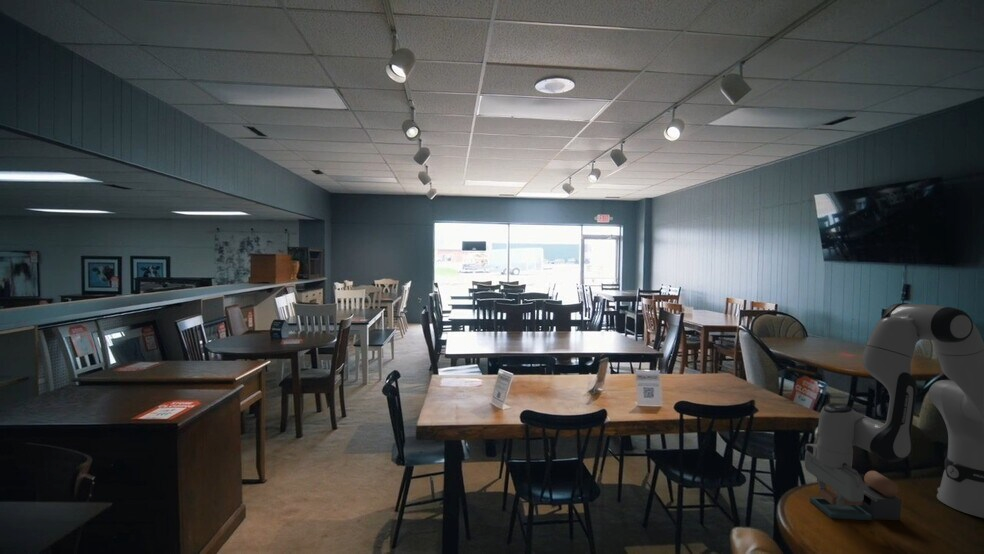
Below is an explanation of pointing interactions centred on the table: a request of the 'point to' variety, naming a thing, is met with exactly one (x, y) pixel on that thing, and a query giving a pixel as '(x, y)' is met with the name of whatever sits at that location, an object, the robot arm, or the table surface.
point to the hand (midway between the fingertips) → (830, 499)
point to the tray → (840, 510)
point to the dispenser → (881, 497)
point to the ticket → (835, 497)
